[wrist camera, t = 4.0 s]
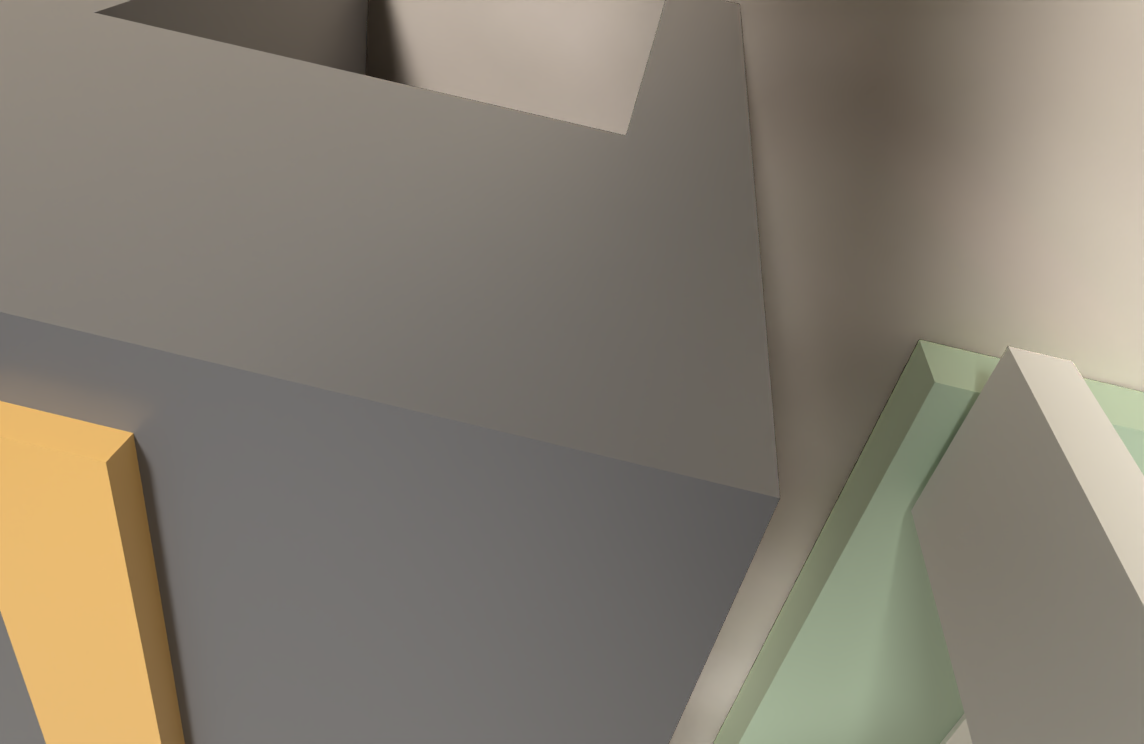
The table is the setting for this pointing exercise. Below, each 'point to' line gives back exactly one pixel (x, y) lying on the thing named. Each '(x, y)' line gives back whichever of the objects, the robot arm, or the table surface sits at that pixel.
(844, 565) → the board
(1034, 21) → the table surface
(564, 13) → the table surface
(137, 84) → the plug housing
